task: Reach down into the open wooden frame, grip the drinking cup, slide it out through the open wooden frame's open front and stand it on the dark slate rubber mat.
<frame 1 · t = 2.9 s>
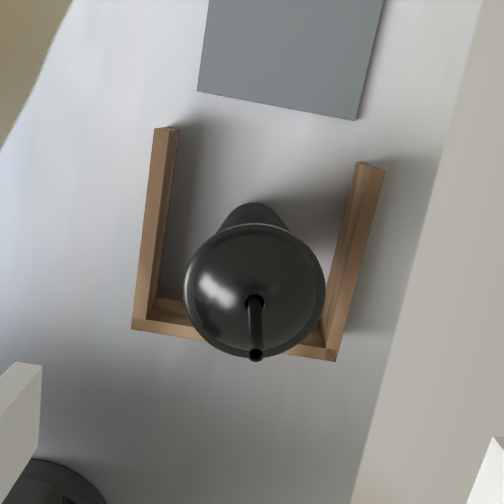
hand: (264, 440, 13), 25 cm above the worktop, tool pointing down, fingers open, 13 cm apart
drinking cup: (252, 231, 38), on the worktop
open wooden frame: (252, 232, 37), on the worktop
mat: (292, 20, 33), on the worktop
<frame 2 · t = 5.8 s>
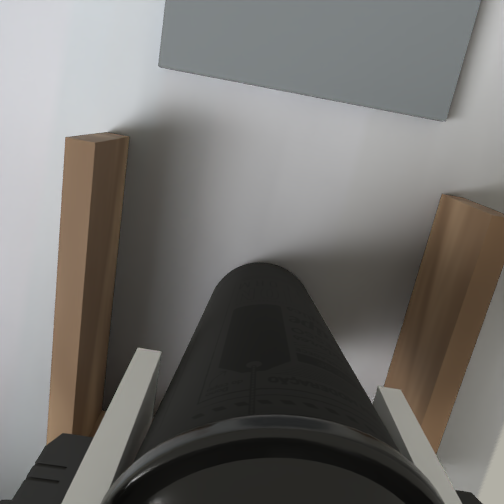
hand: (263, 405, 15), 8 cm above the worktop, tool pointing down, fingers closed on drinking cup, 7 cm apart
drinking cup: (259, 308, 22), on the worktop, touching gripper
open wooden frame: (259, 310, 22), on the worktop
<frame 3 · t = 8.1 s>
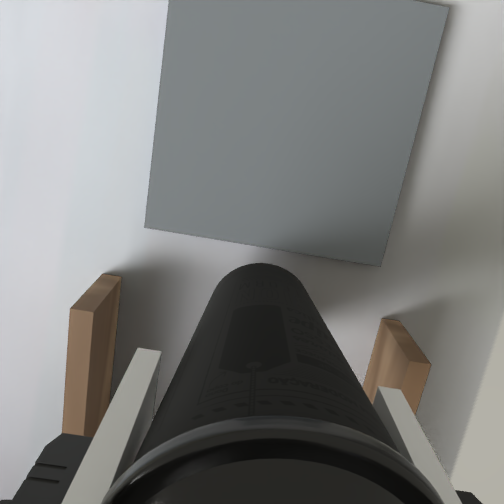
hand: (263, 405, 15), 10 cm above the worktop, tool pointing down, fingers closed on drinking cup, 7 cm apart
drinking cup: (259, 308, 22), point 2 cm above the worktop, touching gripper
open wooden frame: (232, 409, 26), on the worktop
mat: (286, 124, 22), on the worktop
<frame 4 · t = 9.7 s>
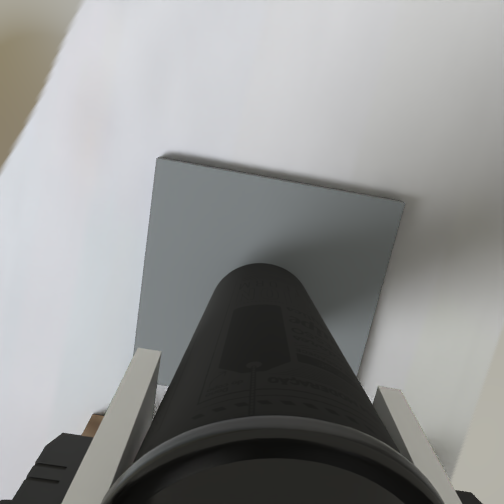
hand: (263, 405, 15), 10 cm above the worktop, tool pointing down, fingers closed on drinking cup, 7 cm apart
drinking cup: (259, 308, 22), point 2 cm above the worktop, touching gripper
mat: (259, 292, 24), on the worktop
when the fingers open (8 cm above the worktop, at t = 10.8 s): drinking cup stays where it is, resting on mat.
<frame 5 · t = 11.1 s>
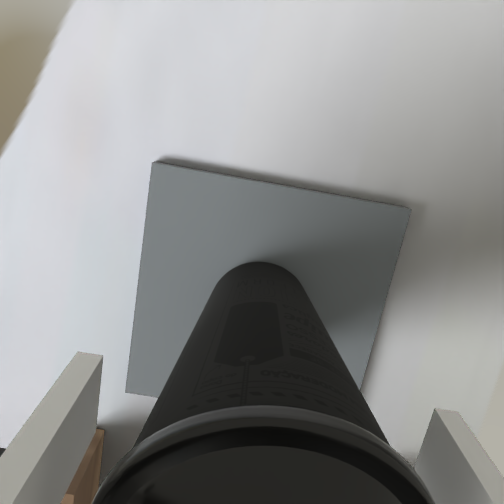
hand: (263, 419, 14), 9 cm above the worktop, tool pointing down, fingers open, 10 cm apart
drinking cup: (258, 306, 23), resting on mat
mat: (259, 302, 23), on the worktop
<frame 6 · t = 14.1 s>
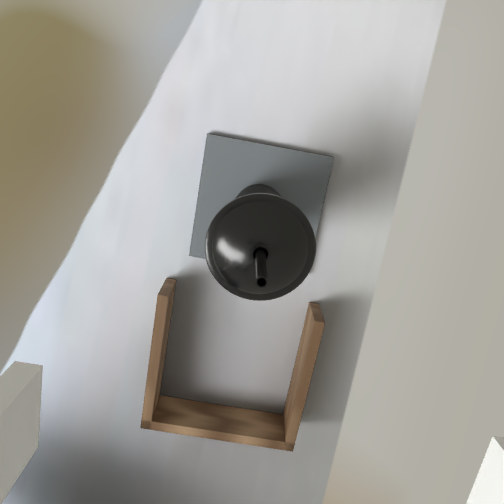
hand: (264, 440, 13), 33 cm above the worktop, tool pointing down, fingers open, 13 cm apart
drinking cup: (258, 208, 45), resting on mat
open wooden frame: (232, 350, 50), on the worktop
mat: (259, 207, 45), on the worktop
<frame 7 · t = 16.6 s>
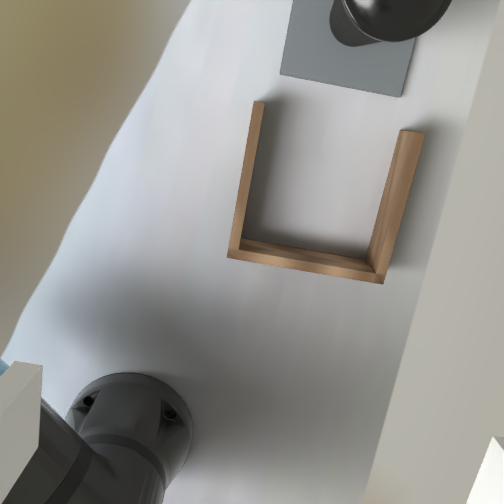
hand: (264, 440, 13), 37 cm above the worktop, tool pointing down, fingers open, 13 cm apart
drinking cup: (354, 19, 43), resting on mat
open wooden frame: (317, 185, 48), on the worktop
mat: (353, 19, 43), on the worktop
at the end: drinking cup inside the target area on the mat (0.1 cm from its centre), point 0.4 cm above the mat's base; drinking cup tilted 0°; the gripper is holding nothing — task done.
